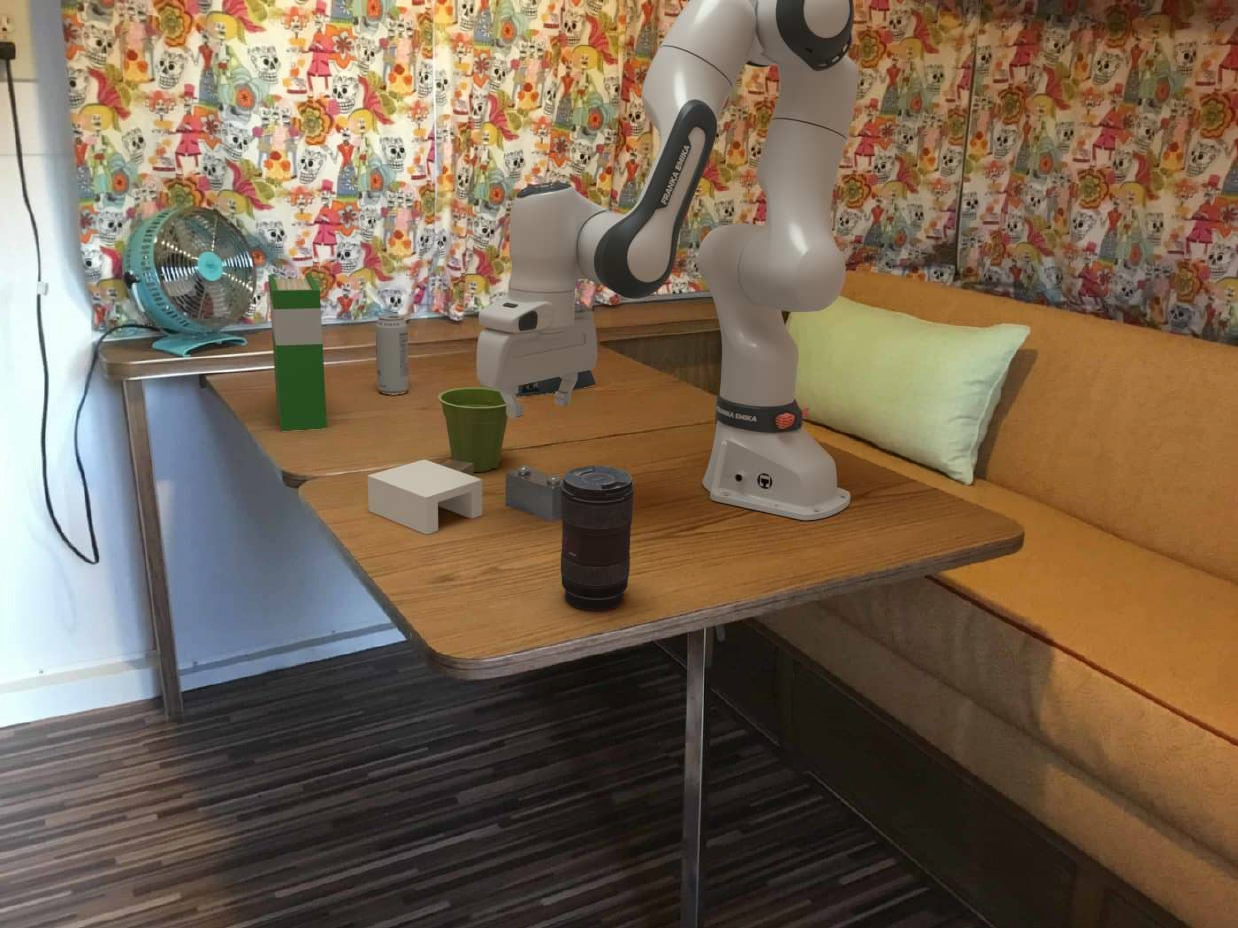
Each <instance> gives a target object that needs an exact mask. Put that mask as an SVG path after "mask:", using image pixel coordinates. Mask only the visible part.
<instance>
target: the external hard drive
mask: <svg viewBox="0 0 1238 928" xmlns="http://www.w3.org/2000/svg"><path fill="white" fill-rule="evenodd" d="M561 381H562V378H560V377H555V378H551V379H546V380H542V381H537V382H533V383H528V384H524V385H519V386H518V393H517V394H515V395H516V396H517V397H516V398H522V397H521V396H527V397H533V396H532V395H536V396H541V395H540V394H544V395H547V394H546V393H552V392H556V391H558V390H559V387H560V384H561ZM595 384H596V380H595V376H594V374H593V373H592V371H591V370H586V371H582V372H578V376H577V382H576V384H575V386H574V388H573V390H572V391H576V390H575V389H578V388H579V389H578V390H581V389H580V388H584V387H588V386H591V385H595ZM584 389H585V388H584ZM552 394H553V393H552ZM518 396H520V397H518Z"/></svg>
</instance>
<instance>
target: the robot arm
mask: <svg viewBox="0 0 1238 928" xmlns="http://www.w3.org/2000/svg"><path fill="white" fill-rule="evenodd" d="M854 3H855V2H854V0H689V1H688V2H687V3H686V4H685V6H684V7H683V9H682V10H681V11H680V13H679V14H678V15H677V17H676V19H675V20H674V21H673V23H672V25H671V26H670V28H669V29H668V31H667V32H666V34H665V36H664V39H662V42H661V43H660V45H659V48H658V49H657V51H656V53H655V55H654V57H653V59H652V61H651V63H650V65H649V67H648V70H647V72H646V74H645V78H644V81H643V85H642V89H641V93H640V94H641V95H640V96H641V102H642V107H643V109H644V112H645V114H646V116H647V118H648V120H649V121H650V123H651V124H652V126H653V127H655V129H656V130H657V132H658V135H659V136H658V137H659V146H658V150H657V154H656V157H655V159H654V162H653V164H652V167H651V169H650V171H649V174H648V175H647V178H646V180H645V183H644V186H643V188H642V191H641V192H640V195H639V197H638V200H637V201H636V203H635V205H634V206H633V207H632V208H631V209H630V210H629V211H627V212H626V213H624V214H623V213H621V212H617V211H613V210H610V209H609V208H607V207H604V206H602V205H599V204H597V203H595V202H594V201H591V200H590V199H588V198H587V197H586V196H584V195H583V194H581V193H580V192H579V191H577V190H576V189H575V188H574V186H573V185H571V183H566V182H559V181H557V182H555V181H554V182H542V183H536V184H532V185H528V186H526V187H524V188H522V189H521V190H520V191H519V192H517V194H516V195H515V197H514V199H513V202H512V208H511V212H510V213H511V214H510V223H509V234H508V235H509V236H508V254H509V259H510V263H511V264H510V265H511V272H510V277H509V280H508V286H507V287H508V290H507V292H508V293H507V294H504V295H503V296H501V297H500V298H499V299H498V300H496V301H494V302H493V303H491V304H489V305H488V306H486V307H484V308H482V309H481V310H480V311H479V313H478V324H479V326H480V327H484V329H482V331H481V332H480V333H479V336H478V339H477V346H476V378H477V381H478V382H479V384H480V385H481V386H482V387H483V388H490V389H495V390H500V394H501V396H502V398H503V400H504V401H505V403H506V415H507V416H508V418H511V419H518V418H520V417H523V416H524V411H523V410H524V403H520V402H519V401H518V399H517V398H518V397H516V395H515V394H517V393H518V386H519V385H524V384H528V383H533V382H537V381H542V380H546V379H551V378H555V377H560V378H562V381H561V384H560V387H559V390H558V391H556V392H555V393H554V402H553V403H554V404H555V405H556V406H560V407H565V406H567V405H570V404H571V400H572V393H573V391H574V390H573V388H574V386H575V384H576V382H577V376H578V372H582V371H586V370H590V371H591V370H593V369H594V368H595V367H596V364H597V361H598V342H597V341H598V340H597V338H598V337H597V331H596V330H597V329H596V326H595V322H594V317H595V316H594V312H593V310H592V309H591V308H590V306H588V304H586V303H579V304H576V287H577V286H576V285H577V282H578V281H580V280H588V281H590V282H593V283H595V284H596V285H599V286H603V287H605V288H607V289H608V290H611V291H612V292H613V293H615V294H617V295H619V296H621V297H623V298H626V299H632V300H633V299H635V300H636V299H643V298H646V297H649V296H650V295H651V296H652V295H653V294H654V293H656V292H657V291H659V290H660V289H661V288H662V287H663V286H664V285H665V283H666V282H667V281H668V279H669V278H670V276H671V274H672V272H673V269H674V266H675V262H676V257H677V251H678V245H679V244H678V243H679V237H680V232H681V229H682V226H683V224H684V220H685V218H686V216H687V213H688V211H689V208H690V206H691V204H692V201H693V199H694V197H695V194H696V192H697V189H698V186H699V183H700V181H701V179H702V176H703V174H704V172H705V169H706V166H707V165H708V162H709V159H710V157H711V154H712V151H713V148H714V144H715V142H716V138H717V133H718V132H717V131H718V122H719V120H720V117H721V114H722V111H723V109H724V107H725V105H726V103H727V100H728V98H729V96H730V94H731V93H732V90H733V88H734V87H735V84H736V82H737V80H738V78H739V76H740V74H741V71H742V70H743V69H744V68H745V66H746V65H748V66H750V67H756V68H768V67H773V66H777V67H776V68H777V72H778V80H779V81H778V82H779V90H778V98H777V100H776V103H775V105H774V109H773V112H772V115H771V118H770V121H769V125H768V128H767V132H766V135H765V138H764V143H763V145H762V148H761V152H760V156H759V159H758V163H757V166H756V169H755V178H756V183H757V185H758V186H759V188H760V189H761V190H762V192H763V193H764V196H765V202H766V203H765V206H766V208H765V210H766V215H765V223H764V225H760V224H753V223H746V222H739V223H732V224H726V225H720V226H717V227H715V228H714V229H712V230H710V231H709V232H708V233H707V234H706V235H705V236H704V238H702V241H701V242H700V245H699V248H698V250H697V251H698V252H697V259H696V262H697V263H696V264H697V270H698V273H699V275H700V277H701V279H702V280H703V282H704V283H705V285H706V286H707V288H708V290H709V291H710V293H711V297H712V299H713V302H714V306H715V309H716V313H717V318H718V322H719V327H720V334H721V335H720V336H721V345H722V347H721V348H722V355H721V374H720V389H719V393H718V394H717V395H716V401H715V402H716V404H715V412H714V413H715V415H714V417H715V418H714V419H715V421H714V422H715V427H716V429H715V435H714V440H713V446H712V450H711V455H710V458H709V462H708V465H707V468H706V471H705V474H704V476H703V479H702V485H703V487H704V489H706V490H707V491H708V492H709V498H710V500H712V501H714V502H717V503H722V504H727V505H732V506H736V507H741V508H745V509H750V510H755V511H758V512H759V511H760V512H764V513H768V514H772V515H777V516H781V517H787V518H791V519H795V520H801V521H811V520H812V521H813V520H820V519H825V518H827V517H830V516H833V515H835V514H837V513H840V512H841V511H842V510H845V509H846V508H847V507H848V506H849V505H850V503H851V493H850V491H848V490H846V489H843V488H841V487H838V476H837V467H836V462H835V459H834V457H832V456H831V454H829V453H828V451H827V450H825V449H824V448H823V447H822V445H820V443H818V442H817V440H816V439H815V438H814V437H813V436H812V435H811V434H810V433H809V432H808V431H807V430H806V429H805V428H804V427H803V424H804V423H803V418H804V417H806V416H809V415H810V413H808V412H809V410H810V407H806V408H803V409H801V408H800V406H799V405H798V402H797V400H796V398H795V395H796V386H797V385H796V384H797V375H798V364H799V363H798V362H799V348H798V345H797V343H796V341H795V340H794V338H793V336H792V335H791V334H790V332H789V331H788V329H787V327H786V325H785V321H784V317H783V314H782V311H785V312H788V313H807V312H808V313H811V312H812V313H813V312H820V311H823V310H825V309H827V308H828V307H830V306H831V305H832V304H833V303H834V302H835V301H836V300H837V298H838V297H839V295H840V294H841V292H842V290H843V288H844V286H845V285H844V284H845V283H846V277H847V276H846V275H847V270H846V269H847V268H846V262H845V257H844V255H843V253H842V251H841V250H840V249H839V247H838V245H837V243H836V240H835V237H834V233H833V227H832V202H833V201H832V199H833V192H834V189H835V183H836V181H837V176H838V172H839V169H840V164H841V161H842V159H843V155H844V152H845V149H846V145H847V142H848V137H849V134H850V130H851V127H852V122H853V118H854V113H855V109H856V102H857V97H858V87H859V79H860V78H859V77H860V76H859V75H860V74H859V70H858V68H857V65H856V63H855V62H854V60H853V59H852V58H851V57H849V56H848V55H847V53H848V51H849V50H850V47H851V46H852V42H853V36H852V35H853V34H852V31H853V27H854V21H855V20H854V19H855V5H854Z"/></svg>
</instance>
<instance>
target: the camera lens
mask: <svg viewBox="0 0 1238 928" xmlns="http://www.w3.org/2000/svg"><path fill="white" fill-rule="evenodd" d="M562 479H563V483H562V486H561V487H562V488H561V519H560V520H561V523H562V524H561V525H562V526H561V528H562V529H561V530H562V533H561V553H560V575H561V586H562V587H563V589H564V596H565V597H564V598H565V600H566V601H567V603H568V604H570V605H571V606H573V607H575V608H579V609H582V610H587V611H606V610H611V609H613V608H616V607H618V606H620V605H621V604H622V602H623V601H624V593H625V591H626V590H627V588H628V584H629V582H628V581H629V576H630V567H631V566H630V564H631V554H630V552H631V551H630V550H631V549H630V548H631V532H632V531H631V527H632V523H633V517H634V516H633V514H634V511H633V510H634V494H635V493H634V492H635V488H634V484H633V478H632V475H631V474H630V473H629V472H627V471H625V470H624V469H622V468H618V467H614V466H607V465H587V466H586V465H585V466H579V467H575V468H573V469H571V470H568V471H567V472H565V473H564V475H563V478H562Z"/></svg>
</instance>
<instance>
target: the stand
mask: <svg viewBox="0 0 1238 928" xmlns="http://www.w3.org/2000/svg"><path fill="white" fill-rule="evenodd" d="M367 492H368V493H367V496H368V511H369V512H371V513H373V514H376V515H378V516H380V517H382V518H385V519H388V520H390V521H392V522H395V523H397V524H400V525H401V526H404V527H406V528H410V529H412V530H414V531H417V532H419V533H421V534H424V535H430V534H433V533H435V532H438V531H439V507H440V508H442V509H444V510H448V511H450V512H453V513H456V514H458V515H460V516H463V517H466V518H469V519H476V518H479V517H481V516H483V479H482V478H478V477H476V476H474V475H473V476H471V475H468V474H465V473H462V472H459V471H456V470H453V469H450V468H448V467H445V466H442V465H441V464H438V463H436V462H433V461H430V460H427V459H421V460H418V461H414V462H411V463H407V464H403V465H400V466H396V467H393V468H390V469H386V470H381V471H377V472H375V473H372V474H368V475H367Z"/></svg>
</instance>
